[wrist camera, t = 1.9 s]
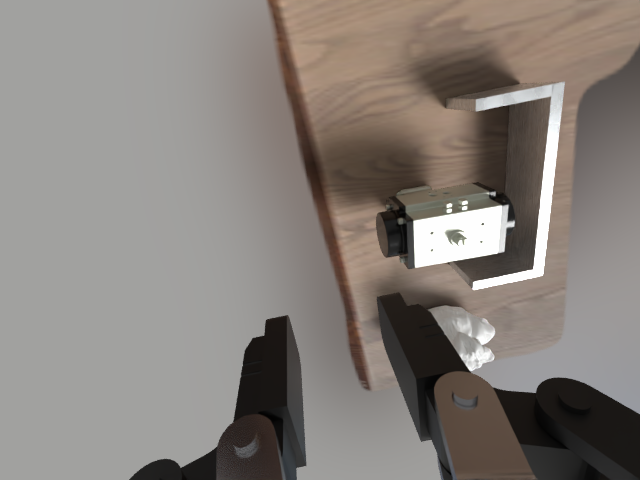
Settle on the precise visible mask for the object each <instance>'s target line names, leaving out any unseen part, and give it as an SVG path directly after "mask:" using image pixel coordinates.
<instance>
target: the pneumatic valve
mask: <svg viewBox="0 0 640 480" xmlns="http://www.w3.org/2000/svg"><path fill="white" fill-rule="evenodd" d="M396 195H397V196H394V197H389V200H386V204H387V205H386V210H387V211H385V212H379V213H378V214H377V217H376V229H377V236H378V241H379V245H380V248H381V251H382V253H383V255H384V256H385V257H386V258H388V257H394V256H399V257H400V262H401V263H404V264H405V265H406V267H407V268H408V269H412V268H418V267H423V266H429V265H435V264H441V263H446V262H452V261H458V260H463V259H469V258H475V257H480V256H486V255H492V254H497V253H503V252H504V249H505V238H506V237H507V236H509V235H510V234H511V233H512V231H513V229H514V227H515V211H514V207H513V204H512V202H511V201H510V199H509V198H508V197H507V196H506V195H505V194H504V193H501V192H496V191H495V190H494V189H491V188H489V187H487V186H485V185H483V184H481V183H478V182H476V183H471V184H465V185H459V186H453V187H447V188H441V189H435V190H432V188H431V187H429V186H428V185H426V186H420V187H415V188H409V189H403V190H400V192H397V194H396Z"/></svg>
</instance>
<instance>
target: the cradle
mask: <svg viewBox="0 0 640 480" xmlns="http://www.w3.org/2000/svg"><path fill="white" fill-rule="evenodd" d="M564 85H565V82H545V83H522V84H516V85H511V86H506V87H501V88H496V89H491V90H486V91H481V92H476V93H471V94H466V95H461V96H456V97H451V98H446V109H454V110H465V111H481V110H486V109H491V108H496V107H501V106H506V105H509V124H508V143H507V162H506V180H505V195H506V196H507V197H508V198H509V199H510V201H511V202H512V204H513V207H514V211H515V227H514V229H513V231H512V233H511V234H510V235H509V236H507V237H506V238H505V249H504V252H503V253H497V254H492V255H486V256H480V257H475V258H469V259H463V260H458V261H452V262H449V265H450V266H451V267H452V268H453V269H454V270H455V271H456V272H457V273H458V274H459V275H460V276H461V277H462V278H463V280H464V281H465V282H466V283H467V284H468V285H469V286H470V287H471V288H472V289H473V290H475V289H480V288H485V287H489V286H494V285H499V284H504V283H509V282H513V281H518V280H523V279H528V278H533V277H538V276H542V275H543V268H544V259H545V250H546V242H547V233H548V224H549V216H550V207H551V198H552V189H553V181H554V172H555V163H556V154H557V146H558V137H559V128H560V120H561V111H562V102H563V93H564Z"/></svg>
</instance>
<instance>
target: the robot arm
mask: <svg viewBox="0 0 640 480" xmlns="http://www.w3.org/2000/svg"><path fill="white" fill-rule="evenodd" d="M377 304H378V311H379V319H380V327H381V334H382V339H383V343H384V346H385V350H386V352H387V355H388V358H389V360H390V363H391V365H392V368H393V370H394V373H395V376H396V378H397V381H398V383H399V386H400V388H401V391H402V393H403V396H404V398H405V401H406V404H407V406H408V409H409V412H410V414H411V417H412V419H413V422H414V425H415V427H416V430H417V432H418V435H419V437H420V440H421V442H422V441H426V440H432V442H433V444H434V447H435V449H436V451H437V457H438V467H439V471H440V476H441V480H640V414H638V413H636V412H635V411H633V410H631V409H630V408H628V407H626V406H624V405H622V404H621V403H619V402H617V401H615V400H614V399H612V398H610V397H608V396H607V395H605V394H603V393H601V392H599V391H598V390H596V389H594V388H592V387H591V386H589V385H587V384H585V383H582V382H580V381H576V380H573V379H568V378H551V379H547V380H545V381H543V382H542V383H541V384H540V385H539V386H538V388H537V391H536V393H528V392H514V391H505V390H500V389H496V388H493V387H492V386H491V385H490V384H489V383H488V382H487V381H485V380H484V379H483V378H481V377H479V376H477V375H475V374H472V373H471V372H470V371H469V369H468V368H467V366H466V365H465V363H464V362H463V360H462V359H461V357H460V356H459V354H458V353H457V351H456V350H455V348H454V347H453V345H452V344H451V342H450V340H449V339H448V337H447V336H446V335H445V334H444V331H443V330H442V328H441V327H440V325H438V322H437V321H436V319H435V318H434V316H433V315H432V313H431V312H430V311H428V310H427V309H425V308H424V307H422V306H421V305H419V304H416V305H411V306H407V305H406V303H405V301H404V300H403V298H402V296H401V294H400V293H399V292H398V293H393V294H388V295H383V296H379V297H377ZM302 466H306V453H305V433H304V417H303V396H302V378H301V364H300V357H299V352H298V348H297V344H296V341H295V337H294V333H293V330H292V326H291V322H290V319H289V316H288V315H286V316H281V317H276V318H271V319H267V320H266V324H265V335H264V336H260V337H256V338H253V339H252V341H251V342H250V343H249V345H248V347H247V348H246V350H245V354H244V360H243V367H242V372H241V378H240V385H239V391H238V398H237V403H236V410H235V416H234V421H233V423H232V424H230V425H229V426H228V427H227V429H226V430H225V431H224V432H223V434H222V436H221V437H220V440H219V442H218V446H217V447H216V448H215V449H214V450H212V451H211V452H209V453H208V454H206V455H204V456H203V457H201V458H199V459H197V460H195V461H193V462H191V463H189V464H188V465H186V466H184V467H182V468H180V466H179V465H178V463H176V462H175V461H173V460H170V459H161V460H157V461H154V462H152V463H150V464H148V465H146V466H144V467H143V468H142V469H140V470H139V471H138V472H137V473H135V474H134V476H132V477H131V478H130V480H297V477H296V468H297V467H302Z"/></svg>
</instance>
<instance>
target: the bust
mask: <svg viewBox="0 0 640 480" xmlns="http://www.w3.org/2000/svg"><path fill="white" fill-rule="evenodd" d="M428 311H430V312H431V313H432V315H433V316H434V318H435V319H436V321H437V322H438V325H440V327H441V328H442V330H443V331H444V334H445V335H446V336H447V337H448V339H449V340H450V342H451V344H452V345H453V347H454V348H455V350H456V351H457V353H458V354H459V356H460V357H461V359H462V360H463V362H464V363H465V365H466V366H467V368H468V369H469V371H473V370H474V369H475V368H480V367H481V366H482V363H486V362H490V361H493V360H494V354H493V353H492V352H491V350H490V349H489V348H487V347H485V346H484V345H483V344H485V343H487V342H488V341H490V340H491V339H492V337H493V336H494V335H495V329H494V327H493V326H492V325H490V324H489V323H488V321H487V320H486V319H485V318H481V317H478V316H475V315H473V314H471V313H469V312H466V311H465V310H464V309H463V308H462V307H450V306H447V305H444V306H439V307H435V308H431V309H428Z"/></svg>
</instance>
